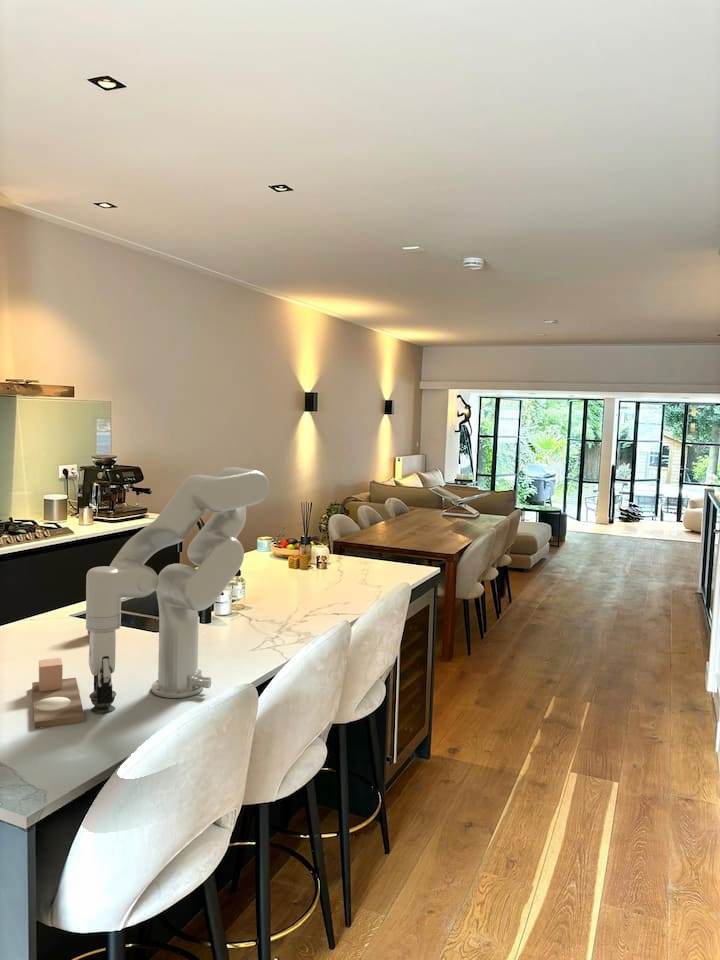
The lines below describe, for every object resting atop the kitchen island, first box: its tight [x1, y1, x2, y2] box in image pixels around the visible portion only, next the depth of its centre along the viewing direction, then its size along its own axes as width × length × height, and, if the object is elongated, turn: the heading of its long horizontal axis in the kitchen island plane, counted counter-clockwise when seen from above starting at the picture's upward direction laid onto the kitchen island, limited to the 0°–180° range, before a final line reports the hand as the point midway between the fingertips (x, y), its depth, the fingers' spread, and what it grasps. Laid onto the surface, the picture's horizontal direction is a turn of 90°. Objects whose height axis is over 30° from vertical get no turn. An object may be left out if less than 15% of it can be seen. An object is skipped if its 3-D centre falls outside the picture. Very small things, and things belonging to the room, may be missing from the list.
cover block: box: [38, 657, 63, 691], centre depth 174 cm, size 5×5×6 cm
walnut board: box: [31, 677, 85, 730], centre depth 167 cm, size 24×10×2 cm, turn 26°
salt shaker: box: [89, 670, 117, 715], centre depth 165 cm, size 6×6×12 cm
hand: (102, 696), depth 165 cm, fingers open, 6 cm apart
